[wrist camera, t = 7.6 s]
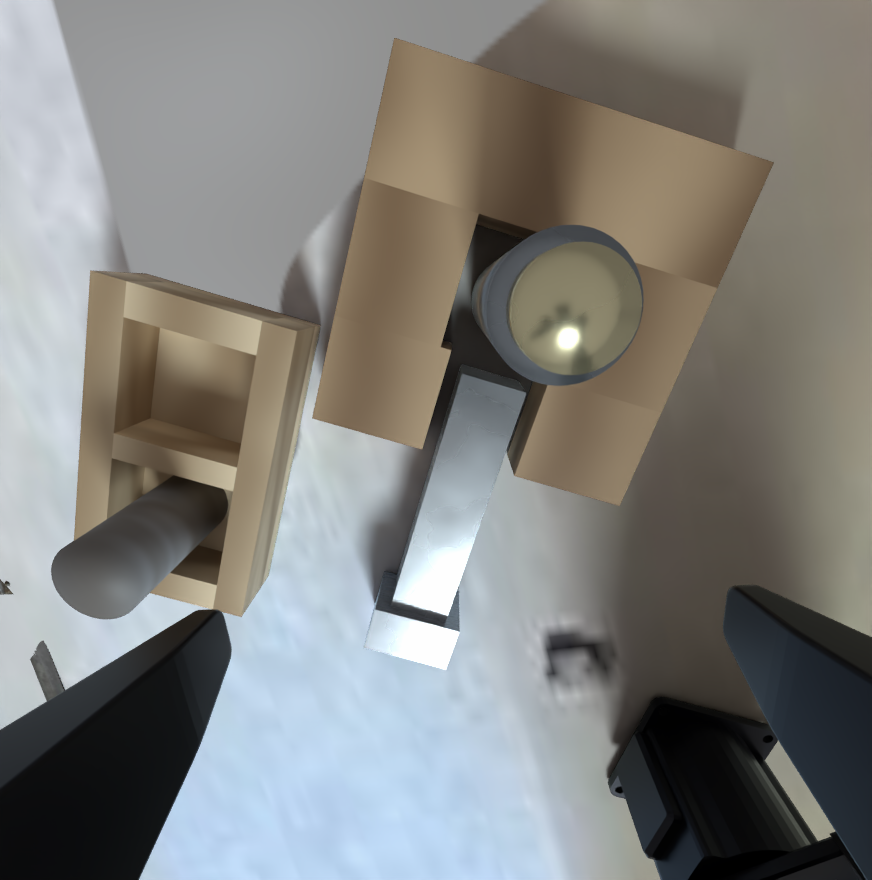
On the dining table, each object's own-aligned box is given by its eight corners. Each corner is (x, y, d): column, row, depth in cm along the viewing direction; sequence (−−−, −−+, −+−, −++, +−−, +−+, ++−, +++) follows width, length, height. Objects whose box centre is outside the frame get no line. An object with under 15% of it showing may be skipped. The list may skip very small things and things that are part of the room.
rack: (320, 325, 19) (251, 343, 12) (268, 575, 22) (193, 690, 16) (146, 273, 19) (-19, 264, 12) (121, 536, 22) (-17, 637, 16)
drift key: (532, 384, 19) (544, 400, 17) (446, 625, 23) (445, 669, 20) (446, 359, 19) (445, 370, 16) (374, 605, 23) (363, 647, 20)
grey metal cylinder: (566, 270, 18) (694, 247, 8) (537, 352, 19) (623, 414, 9) (486, 245, 18) (522, 193, 8) (461, 329, 19) (468, 369, 9)
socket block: (728, 180, 17) (773, 162, 14) (600, 480, 20) (619, 506, 18) (403, 74, 16) (394, 38, 14) (329, 403, 20) (312, 418, 17)
